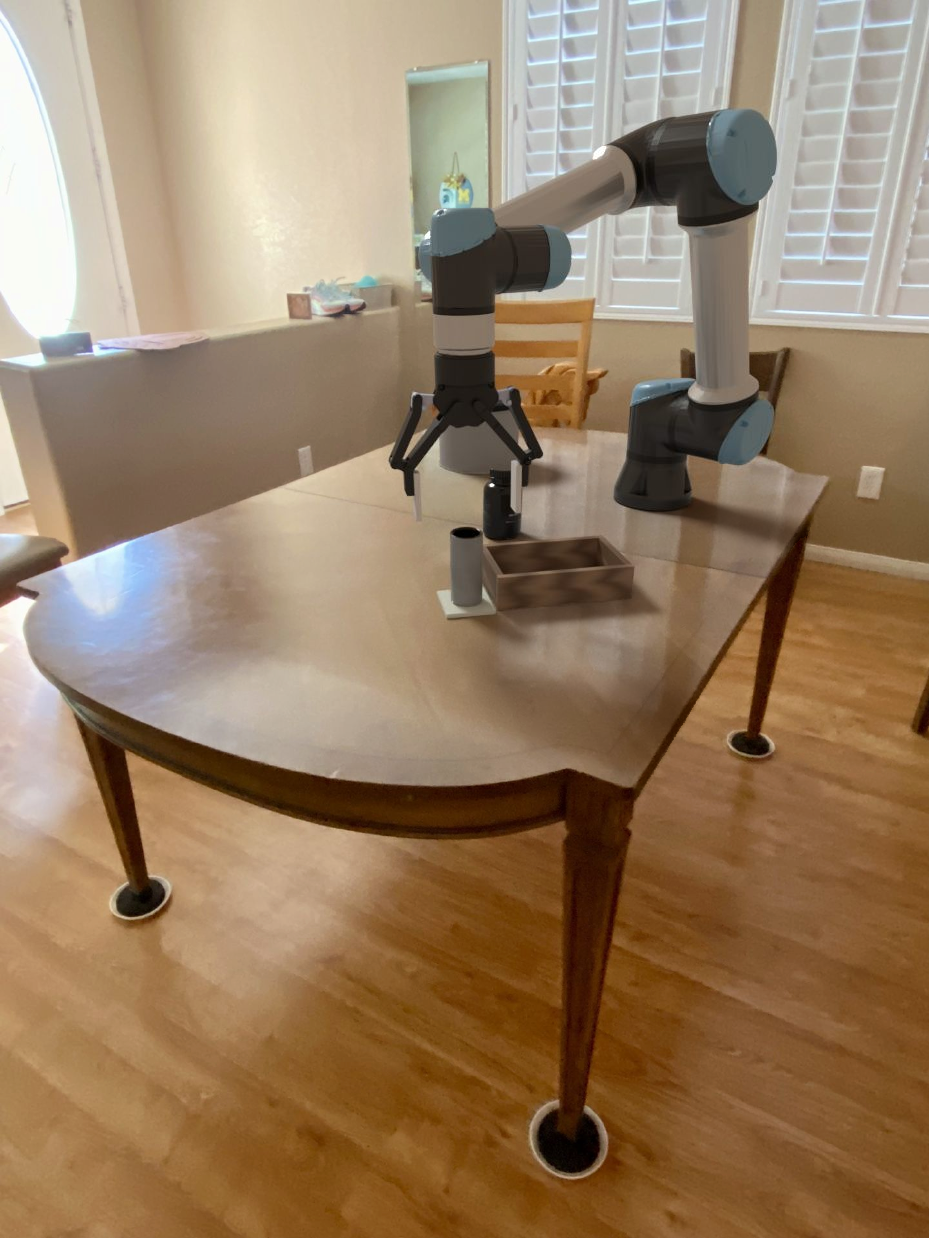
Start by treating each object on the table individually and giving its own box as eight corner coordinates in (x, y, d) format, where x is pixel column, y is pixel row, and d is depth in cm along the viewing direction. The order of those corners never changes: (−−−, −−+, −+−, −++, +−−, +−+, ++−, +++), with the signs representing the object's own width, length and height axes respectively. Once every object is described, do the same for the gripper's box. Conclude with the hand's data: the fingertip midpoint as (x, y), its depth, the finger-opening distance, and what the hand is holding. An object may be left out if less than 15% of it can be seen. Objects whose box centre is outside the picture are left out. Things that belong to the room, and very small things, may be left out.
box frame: (599, 564, 122) (602, 535, 120) (631, 598, 111) (634, 566, 109) (478, 574, 119) (478, 544, 117) (497, 610, 108) (498, 578, 105)
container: (521, 474, 169) (523, 405, 162) (436, 474, 169) (435, 405, 162) (517, 452, 186) (519, 389, 179) (439, 452, 186) (438, 389, 179)
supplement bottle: (518, 542, 132) (520, 473, 126) (479, 539, 133) (479, 471, 127) (523, 528, 138) (525, 463, 132) (486, 526, 139) (487, 461, 133)
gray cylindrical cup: (486, 595, 111) (487, 528, 106) (476, 608, 107) (477, 540, 102) (456, 591, 112) (456, 524, 107) (446, 604, 108) (445, 536, 103)
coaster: (483, 590, 114) (483, 586, 113) (495, 613, 107) (495, 610, 106) (436, 594, 112) (436, 590, 112) (446, 618, 105) (446, 614, 105)
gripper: (552, 341, 99) (547, 497, 109) (360, 350, 95) (373, 512, 105) (571, 349, 93) (563, 515, 102) (365, 359, 89) (378, 531, 98)
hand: (467, 514), depth 104 cm, fingers open, 13 cm apart
